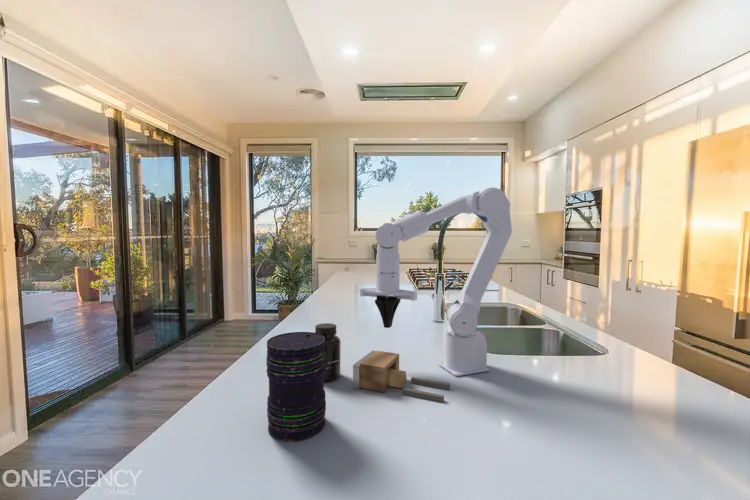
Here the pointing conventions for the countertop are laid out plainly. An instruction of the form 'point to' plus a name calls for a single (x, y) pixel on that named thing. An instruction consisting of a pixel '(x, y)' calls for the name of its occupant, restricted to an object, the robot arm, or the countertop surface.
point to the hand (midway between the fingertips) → (387, 326)
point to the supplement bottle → (330, 350)
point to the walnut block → (377, 370)
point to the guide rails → (426, 394)
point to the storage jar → (296, 386)
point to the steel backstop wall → (357, 370)
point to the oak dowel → (396, 378)
